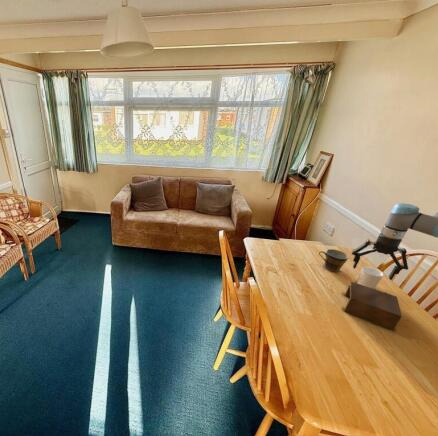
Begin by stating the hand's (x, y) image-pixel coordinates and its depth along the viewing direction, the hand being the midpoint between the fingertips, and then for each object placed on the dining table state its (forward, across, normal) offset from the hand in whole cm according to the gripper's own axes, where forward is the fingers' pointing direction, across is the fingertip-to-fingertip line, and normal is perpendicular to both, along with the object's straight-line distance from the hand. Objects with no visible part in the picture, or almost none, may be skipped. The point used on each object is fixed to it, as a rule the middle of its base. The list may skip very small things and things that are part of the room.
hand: (371, 272), depth 115 cm
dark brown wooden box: (+9, 0, -20) cm, 22 cm away
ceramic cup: (+10, -16, +8) cm, 20 cm away
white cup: (+9, 0, 0) cm, 9 cm away
